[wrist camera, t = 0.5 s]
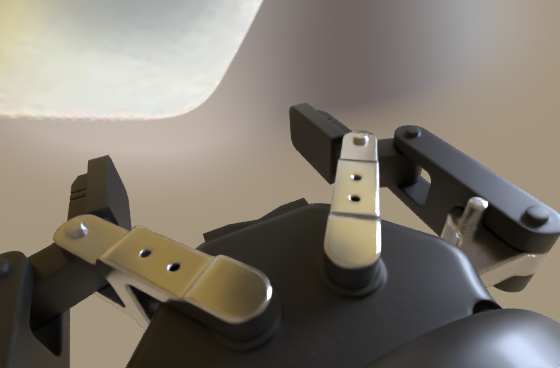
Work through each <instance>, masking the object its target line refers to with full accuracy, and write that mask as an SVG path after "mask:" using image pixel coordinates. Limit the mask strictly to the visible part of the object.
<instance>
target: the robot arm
mask: <svg viewBox="0 0 560 368" xmlns="http://www.w3.org/2000/svg"><path fill="white" fill-rule="evenodd" d="M289 112H290V113H289V114H290V129H291V140H292V143H293V145H294V147H295V148H296V150H297V151H299V153H300V154H301V155H302V156H303V157H304V158H305V159H306V160H307V161H308V162H309V163H310V164H311V165H312V166H313V167H314V168H315V169H316V170H317V171H318V173H320V175H321V176H322V177H323V178H324V179H325V180H326V181H327V182H328V183H329V184H333V183H335V184H334V190H333V196H332V202H331V204H324V203H314V204H308V203H307V201H306V200H305V199H304V198H302V199H299V200H296V201H293V202H290V203H288V204H285V205H282V206H280V207H278V208H277V209H275V210H273V211H272V212H270V213H268V214H267V215H265V216H264V217H262V218H260V219H258V220H253V221H247V222H241V223H235V224H229V225H226V226H224V227H221V228H218V229H215V230H212V231H210V232H207V233H204V234H203V236H204V239H205V242H204V243H202V244H201V245H200V246H198V247H197V248H196V249H194V248H191V247H189V246H187V245H184V244H182V243H180V242H177V241H175V240H173V239H170V238H168V237H166V236H163V235H161V234H159V233H156V232H154V231H152V230H149V229H147V228H145V227H142V226H139V225H137V226H135V227H134V228H133V229H132V228H131V219H130V210H129V200H128V196H127V192H126V190H125V187H124V185H123V183H122V181H121V178H120V176H119V174H118V172H117V170H116V168H115V166H114V164H113V162H112V160H111V158H110V157H109V155H106V156H103V157H99V158H95V159H91V160H89V161H88V171H87V174H84V175H80V176H78V177H77V178H76V180H75V181H74V183H73V184H72V186H71V195H70V203H69V211H68V219H67V221H66V222H65V223H63V224H62V225H61V226H60V227H59V228H58V229H57V230H56V232H55V233H54V236H53V240H54V243H53V244H51V245H50V246H48V247H46V248H45V249H43V250H41V251H39V252H37V253H35V254H33V255H31V256H30V257H28V258H27V257H26V256H25V255H24V254H23V253H22V252H19V251H10V252H6V253H2V254H0V368H70V308H71V307H73V306H74V305H76V304H77V303H79V302H81V301H82V300H84V299H85V298H87V297H88V296H90V295H92V294H94V295H96V296H97V297H99V298H101V299H102V300H104V301H106V302H107V303H109V304H111V305H112V306H114V307H116V308H117V309H119V310H121V311H122V312H124V313H125V314H127V315H129V316H130V317H131V318H132V319H134V320H135V321H136V322H137V323H138V324H139V325H140V326H141V327H142V328H143V329H144V330H145V333H144V334H143V336H142V338H141V340H140V342H139V344H138V346H137V347H136V349H135V351H134V353H133V355H132V357H131V359H130V361H129V362H128V364H127V366H126V368H560V324H559V323H557V322H556V321H554V320H552V319H551V318H548V317H546V316H544V315H542V314H539V313H536V312H533V311H528V310H522V309H502V308H501V307H500V306H499V305H498V304H497V302H496V301H495V300H494V299H493V298H492V296H491V295H490V293H489V292H488V290H487V289H486V288H488V287H490V286H494V287H496V288H498V289H500V290H503V291H507V292H519V291H521V290H523V289H524V288H525V287H526V285H527V284H528V282H529V281H530V279H531V278H532V276H533V275H534V273H535V272H536V270H537V269H538V267H539V266H540V264H541V263H542V261H543V260H544V258H545V257H546V256H547V254H548V253H549V251H550V249H551V248H552V247H553V245H554V244H555V242H556V240H557V239H558V237H559V236H560V214H559V213H557V212H556V211H555V210H553V209H552V208H550V207H548V206H547V205H545V204H543V203H542V202H540V201H539V200H537V199H536V198H534V197H532V196H531V195H529V194H528V193H526V192H524V191H523V190H521V189H520V188H518V187H516V186H515V185H513V184H512V183H510V182H509V181H507V180H505V179H504V178H502V177H501V176H499V175H497V174H496V173H494V172H493V171H491V170H489V169H488V168H486V167H485V166H483V165H482V164H480V163H478V162H477V161H475V160H474V159H472V158H470V157H469V156H467V155H466V154H464V153H462V152H461V151H459V150H458V149H456V148H454V147H453V146H451V145H450V144H448V143H447V142H445V141H443V140H442V139H440V138H439V137H437V136H435V135H434V134H432V133H431V132H429V131H427V130H426V129H424V128H422V127H418V126H410V125H407V126H401V127H399V128H397V129H396V130H395V134H394V138H391V139H381V140H377V137H376V136H375V135H374V134H372V133H370V132H367V131H351V130H350V129H348V128H347V127H346V126H345V125H343V124H342V123H341V122H339V121H338V120H336V119H335V118H333V117H332V116H331V115H329V114H328V113H326V112H323V111H320V110H315V109H314V108H312V107H311V106H310V105H308V104H307V103H303V104H298V105H295V106H291V107H290V110H289ZM422 168H423V169H424V170H426V171H427V172H428V174H429V175H430V178H431V184H430V183H429V182H428V181H426V180H425V179H424V178H423V177H421V176H420V175H421V171H422ZM381 187H388V188H389V189H390V190H391V191H392V192H393V193H394V194H395V195H396V196H397V197H398V198H399V199H400V200H401V201H402V202H403V203H404V204H405V205H407V206H408V207H409V208H410V209H411V210H412V211H413V212H414V213H415V214H416V215H417V216H418V217H419V218H420V219H421V220H422V221H423V222H425V223H426V224H427V225H428V226H429V227H430V228H431V229H432V230H433V231H434V232H435V233H436V234H437V235H438V236H439V237H437V236H434V235H431V234H427V233H424V232H421V231H418V230H414V229H411V228H408V227H405V226H401V225H398V224H395V223H392V222H388V221H385V220H382V219H380V216H379V188H381Z"/></svg>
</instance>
